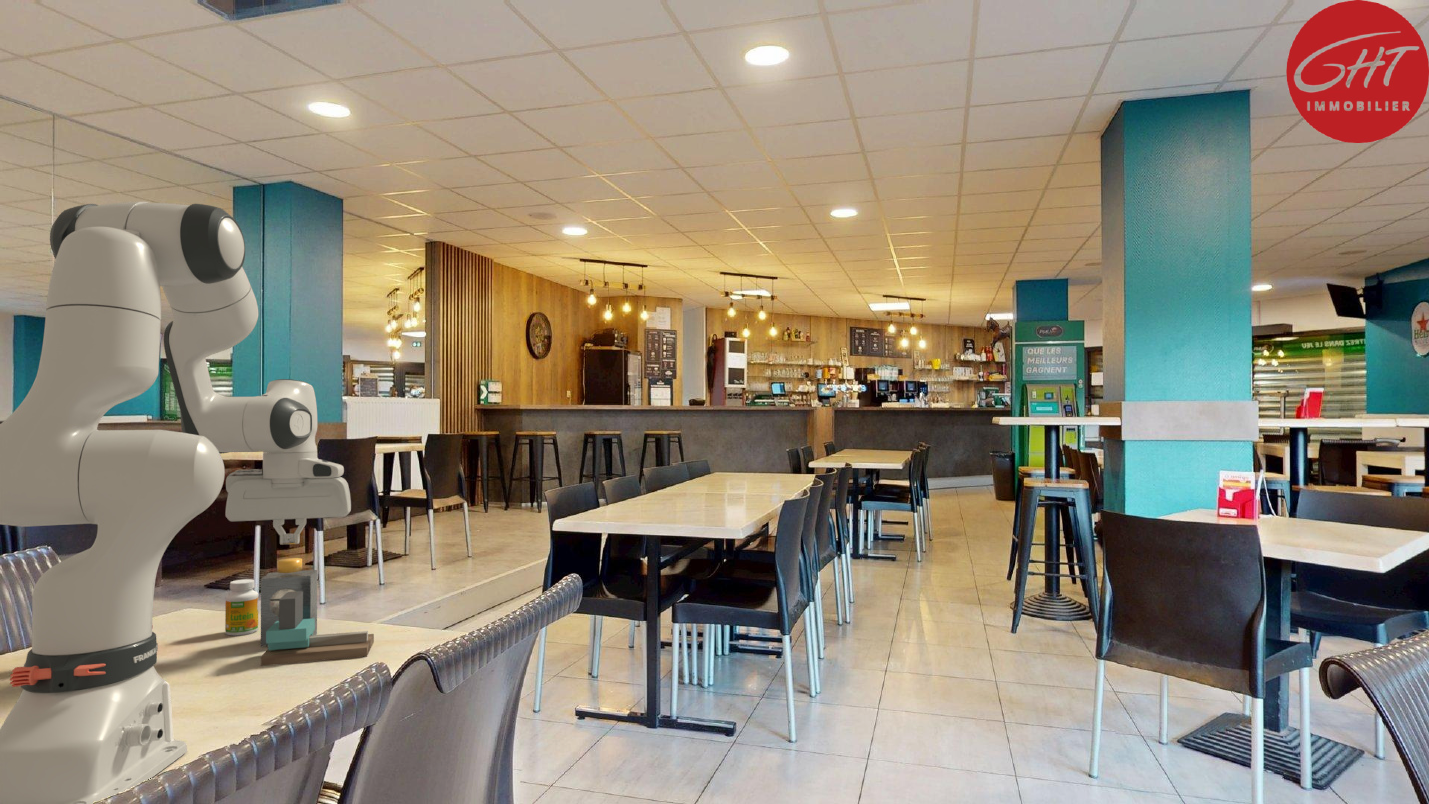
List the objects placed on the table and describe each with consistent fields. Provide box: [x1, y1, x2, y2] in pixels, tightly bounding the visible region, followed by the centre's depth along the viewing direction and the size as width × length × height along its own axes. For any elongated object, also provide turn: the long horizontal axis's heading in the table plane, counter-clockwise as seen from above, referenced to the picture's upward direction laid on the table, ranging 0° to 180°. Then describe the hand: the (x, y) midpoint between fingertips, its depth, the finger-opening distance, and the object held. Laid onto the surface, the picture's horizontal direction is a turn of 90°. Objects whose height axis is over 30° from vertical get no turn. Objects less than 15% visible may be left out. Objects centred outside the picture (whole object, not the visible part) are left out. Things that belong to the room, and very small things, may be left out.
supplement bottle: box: [224, 578, 260, 637], centre depth 148 cm, size 5×5×10 cm
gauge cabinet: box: [260, 569, 318, 648], centre depth 142 cm, size 7×8×12 cm
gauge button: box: [276, 557, 303, 573], centre depth 143 cm, size 4×4×2 cm
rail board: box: [260, 630, 375, 667], centre depth 134 cm, size 9×16×3 cm, turn 107°
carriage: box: [266, 591, 315, 650], centre depth 133 cm, size 7×6×8 cm
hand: (289, 543), depth 143 cm, fingers closed
